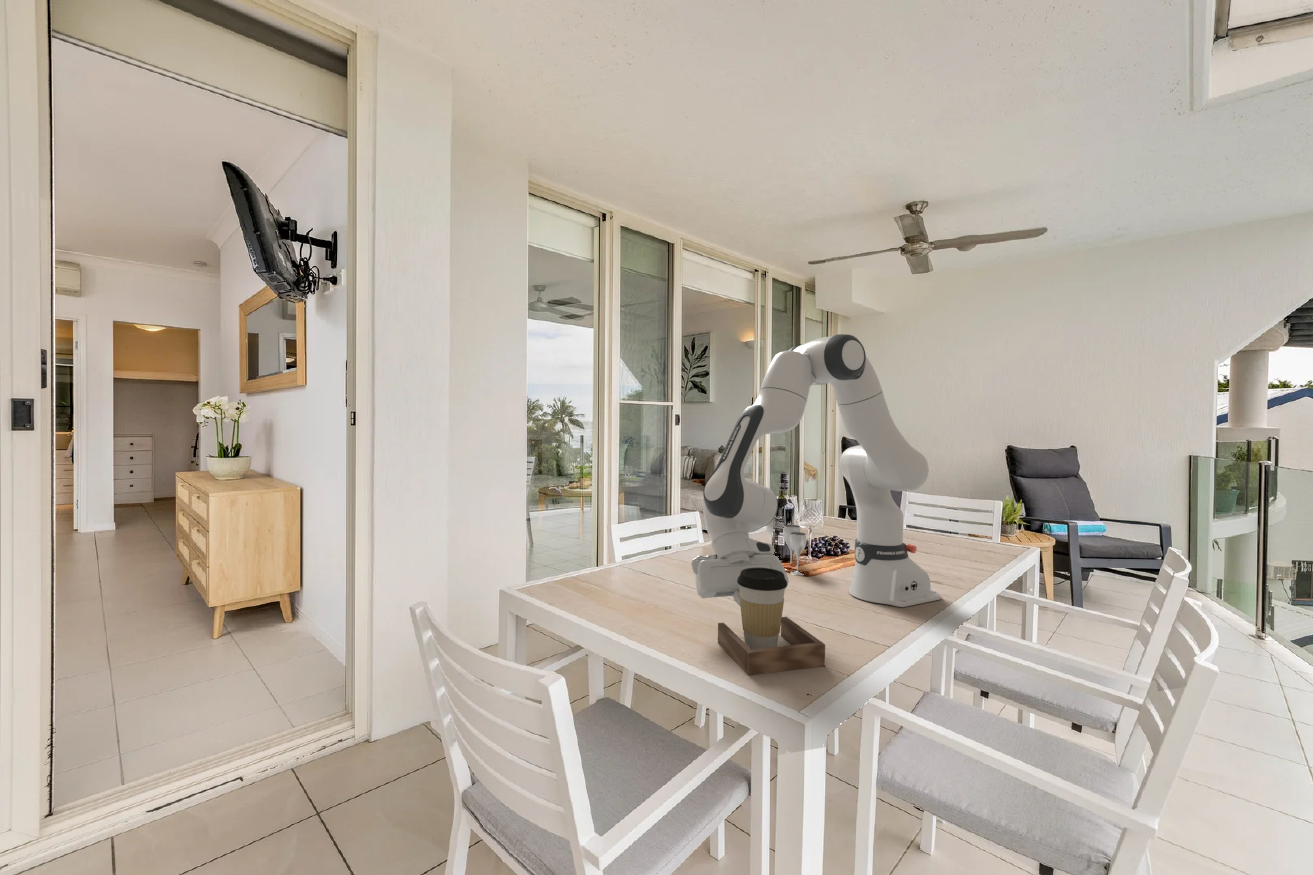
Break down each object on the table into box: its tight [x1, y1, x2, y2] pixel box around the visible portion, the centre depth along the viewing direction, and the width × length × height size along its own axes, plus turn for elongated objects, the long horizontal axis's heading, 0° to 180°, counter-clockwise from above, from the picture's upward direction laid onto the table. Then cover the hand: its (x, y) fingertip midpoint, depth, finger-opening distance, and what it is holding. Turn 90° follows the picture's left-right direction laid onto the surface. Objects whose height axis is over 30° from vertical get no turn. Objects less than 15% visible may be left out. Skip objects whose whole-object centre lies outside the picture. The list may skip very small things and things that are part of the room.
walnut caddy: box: [717, 616, 826, 676], centre depth 107 cm, size 15×15×4 cm
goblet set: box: [765, 520, 807, 576], centre depth 174 cm, size 28×6×13 cm, turn 5°
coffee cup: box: [737, 568, 789, 650], centre depth 109 cm, size 10×10×15 cm
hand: (751, 612), depth 114 cm, fingers closed, pressing on coffee cup
